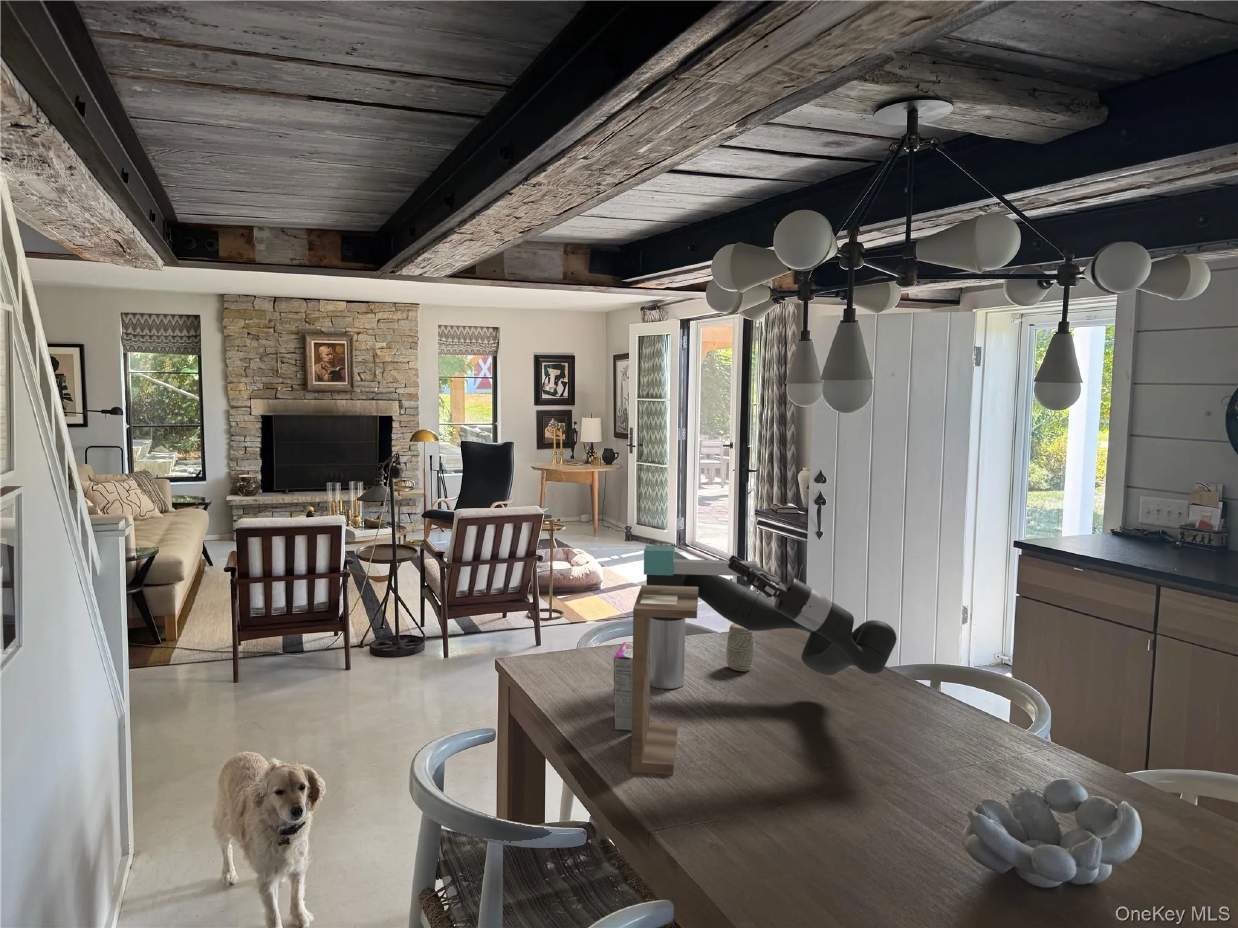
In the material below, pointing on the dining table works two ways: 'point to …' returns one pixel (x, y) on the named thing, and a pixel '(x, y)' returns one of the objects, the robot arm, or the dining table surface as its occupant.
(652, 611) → the bracket shelf
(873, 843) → the dining table surface
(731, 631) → the carving
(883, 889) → the dining table surface
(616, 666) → the candy bar box
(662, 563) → the grey and teal bar
